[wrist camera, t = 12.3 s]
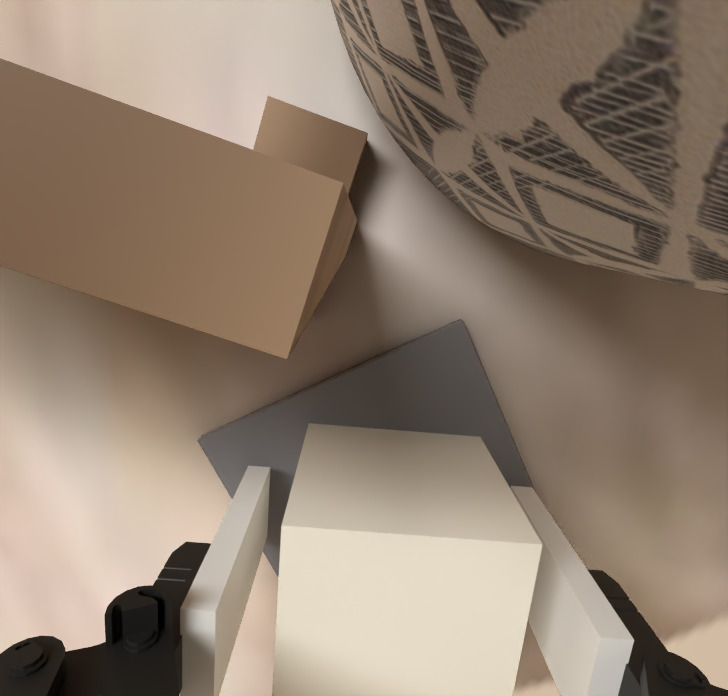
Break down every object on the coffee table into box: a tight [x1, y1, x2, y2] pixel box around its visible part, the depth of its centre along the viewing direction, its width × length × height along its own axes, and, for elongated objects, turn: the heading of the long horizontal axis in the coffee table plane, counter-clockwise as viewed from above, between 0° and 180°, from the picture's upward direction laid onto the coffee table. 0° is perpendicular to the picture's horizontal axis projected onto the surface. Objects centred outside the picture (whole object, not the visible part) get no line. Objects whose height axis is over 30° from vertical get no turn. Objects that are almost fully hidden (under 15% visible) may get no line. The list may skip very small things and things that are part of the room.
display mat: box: [198, 319, 535, 577], centre depth 18 cm, size 10×10×1 cm
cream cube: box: [272, 423, 543, 696], centre depth 15 cm, size 6×6×6 cm
